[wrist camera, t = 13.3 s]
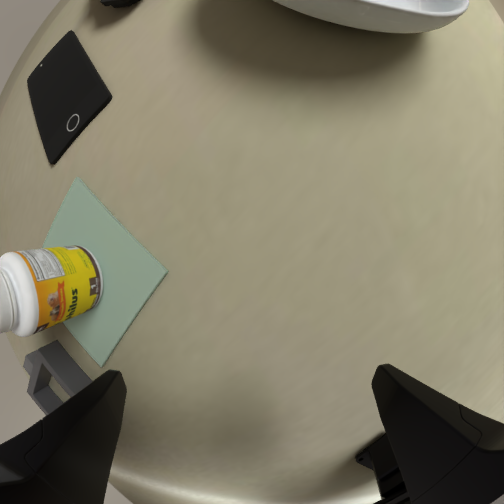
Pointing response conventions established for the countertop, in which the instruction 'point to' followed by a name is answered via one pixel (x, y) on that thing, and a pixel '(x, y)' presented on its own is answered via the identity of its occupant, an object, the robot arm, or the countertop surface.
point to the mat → (105, 269)
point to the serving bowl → (383, 13)
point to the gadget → (118, 3)
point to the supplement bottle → (47, 287)
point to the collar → (60, 367)
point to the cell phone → (65, 95)
